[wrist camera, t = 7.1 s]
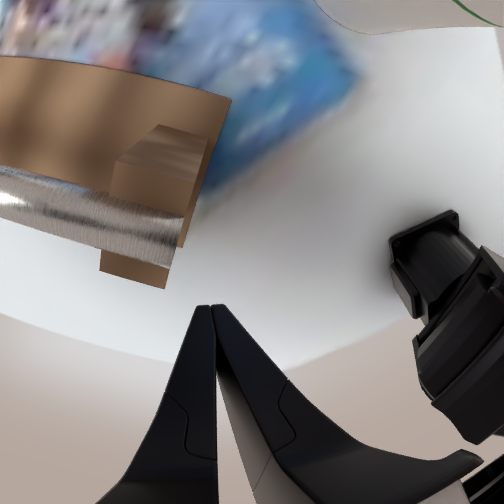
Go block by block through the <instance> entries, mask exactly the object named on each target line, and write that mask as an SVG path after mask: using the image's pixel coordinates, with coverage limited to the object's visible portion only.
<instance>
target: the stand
mask: <svg viewBox="0 0 504 504" xmlns="http://www.w3.org/2000/svg"><path fill="white" fill-rule="evenodd" d="M231 101H232V99H230V98H227V97H224V96H220V95H217V94H214V93H211V92H207V91H204V90H200V89H197V88H193V87H190V86H186V85H182V84H179V83H175V82H171V81H167V80H163V79H159V78H155V77H150V76H146V75H142V74H137V73H132V72H128V71H123V70H118V69H112V68H107V67H101V66H95V65H89V64H83V63H76V62H68V61H60V60H52V59H42V58H31V57H16V56H0V163H1V164H5V165H9V166H12V167H16V168H20V169H24V170H28V171H32V172H35V173H39V174H43V175H47V176H51V177H54V178H58V179H62V180H65V181H69V182H73V183H77V184H80V185H84V186H88V187H91V188H95V189H99V190H102V191H106V192H109V193H110V194H109V196H112V197H116V198H120V199H123V200H127V201H130V202H134V203H137V204H141V205H144V206H148V207H152V208H155V209H159V210H162V211H166V212H169V213H173V214H176V215H180V216H183V217H184V220H183V224H182V227H181V231H180V235H179V238H178V242H177V245H176V246H177V247H181V248H182V247H183V244H184V241H185V237H186V234H187V231H188V227H189V224H190V221H191V218H192V214H193V211H194V208H195V205H196V202H197V199H198V195H199V192H200V189H201V186H202V183H203V180H204V177H205V174H206V171H207V168H208V165H209V162H210V159H211V156H212V154H213V151H214V148H215V145H216V142H217V139H218V137H219V134H220V131H221V128H222V125H223V123H224V120H225V117H226V115H227V112H228V109H229V106H230V104H231ZM169 270H170V269H168V268H164V267H161V266H157V265H154V264H150V263H147V262H143V261H140V260H136V259H133V258H129V257H126V256H122V255H119V254H115V253H112V252H109V251H105V250H101V259H100V270H99V271H102V272H105V273H109V274H112V275H115V276H119V277H122V278H126V279H129V280H133V281H136V282H140V283H143V284H147V285H150V286H154V287H158V288H161V289H165V285H166V281H167V278H168V274H169Z"/></svg>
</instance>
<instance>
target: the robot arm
mask: <svg viewBox="0 0 504 504" xmlns="http://www.w3.org/2000/svg"><path fill="white" fill-rule="evenodd" d="M453 215H454V216H453ZM452 216H453V218H452ZM397 241H398V242H397ZM395 242H397V243H396V244H394V243H395ZM389 246H390V251H391V255H392V260H393V263H391V266H390V268H391V273H392V279H393V284H394V288H395V289H396V291H397V293H398V294H399V296H400V298H401V299H402V301H403V303H404V304H405V306H406V308H407V309H408V311H409V313H410V315H411V316H412V318H414V319H418V318H421V320H422V321H423V323H424V325H425V327H424V328H423V330H422V331H421V332H420V333H419V335H416V337H414V339H413V340H412V343H413V348H414V354H415V359H416V365H417V371H418V378H419V382H420V385H421V388H422V390H423V391H424V392H425V394H426V395H427V396H428V398H429V399H430V400H432V402H431V405H432V406H434V407H435V408H436V409H438V410H439V411H441V412H442V413H443V414H444V415H446V417H447V418H449V419H450V420H451V422H452V423H453V424H454V426H455V427H456V428H457V430H458V431H459V433H460V434H461V435H462V437H463V438H464V439H465V440H466V441H468V442H471V443H473V444H475V445H479V444H480V443H482V442H483V441H484V440H486V439H487V438H488V437H489V436H491V435H496V436H502V437H504V258H503V257H501V256H499V255H498V254H496V253H494V252H493V251H491V250H489V249H488V248H486V247H484V246H483V245H481V247H480V249H478V248H477V247H476V246H475V245H474V244H473V243H472V242H471V241H470V240H469V239H468V238H467V237H466V236H465V235H464V234H463V233H462V232H461V231H460V230H459V216H458V213H456V212H455V211H454V210H451V211H449V212H447V213H444V214H442V215H440V216H438V217H436V218H434V219H431V220H429V221H427V222H425V223H423V224H420V225H418V226H416V227H414V228H411V229H409V230H407V231H405V232H403V233H400V234H398V235H396V236H394V237H392V238H391V239H390V241H389ZM216 374H217V378H218V382H219V385H220V389H221V392H222V396H223V400H224V403H225V406H226V410H227V413H228V417H229V420H230V423H231V427H232V430H233V433H234V436H235V440H236V443H237V446H238V449H239V453H240V456H241V459H242V462H243V465H244V468H245V471H246V474H247V477H248V480H249V483H250V486H251V488H252V491H253V495H254V498H255V500H256V503H257V504H504V454H503V455H501V456H500V457H498V458H497V459H495V460H494V461H493V462H491V463H490V464H488V465H487V466H486V467H484V468H483V469H481V470H480V471H478V472H477V473H476V474H474V475H473V476H471V477H470V478H468V479H467V480H465V481H464V482H461V480H460V479H461V478H462V477H464V476H465V475H467V474H468V473H470V472H471V471H473V470H474V469H475V468H477V467H478V466H480V465H481V464H482V463H483V462H484V461H483V460H482V459H481V458H480V457H479V456H478V455H476V454H474V453H472V452H469V451H466V450H463V449H460V450H458V451H456V452H454V453H452V454H451V455H449V456H447V457H445V458H443V459H440V460H429V461H428V460H422V459H417V458H412V457H408V456H404V455H399V454H396V453H392V452H388V451H384V450H380V449H377V448H373V447H370V446H368V445H365V444H363V443H361V442H359V441H358V440H356V439H354V438H353V437H351V436H350V435H349V434H348V433H347V432H345V431H344V430H343V429H342V428H340V427H339V426H338V425H337V424H336V423H334V422H333V421H332V420H331V419H329V418H328V417H327V416H326V415H325V414H323V413H322V412H321V411H320V410H319V409H318V408H317V407H315V406H314V405H313V404H312V403H311V402H310V401H309V400H307V398H306V397H305V396H304V395H303V394H302V393H301V392H300V391H299V390H298V389H297V388H296V387H295V386H294V385H293V383H292V382H291V381H290V380H287V379H288V378H287V377H286V376H285V375H284V374H283V372H282V371H281V370H280V369H279V368H278V367H277V365H276V364H275V363H274V362H273V361H272V360H271V359H270V357H269V356H268V355H267V354H266V353H265V352H264V351H263V349H262V348H261V347H260V346H259V345H258V344H257V342H256V341H255V340H254V339H253V338H252V336H251V335H250V334H249V333H248V332H247V331H246V329H245V328H244V327H243V326H242V325H241V323H240V322H239V321H238V320H237V319H236V317H235V316H234V315H233V314H232V313H231V311H230V310H229V309H228V308H227V307H226V305H224V304H214V305H211V307H210V305H198V306H197V307H196V308H195V311H194V314H193V316H192V319H191V322H190V324H189V327H188V329H187V332H186V335H185V337H184V340H183V343H182V345H181V348H180V351H179V353H178V356H177V359H176V361H175V364H174V367H173V370H172V372H171V375H170V378H169V381H168V383H167V386H166V389H165V392H164V394H163V397H162V400H161V402H160V405H159V407H158V410H157V412H156V415H155V417H154V419H153V421H152V423H151V426H150V428H149V430H148V432H147V434H146V435H145V438H144V439H143V441H142V443H141V445H140V447H139V449H138V451H137V452H136V454H135V456H134V458H133V460H132V462H131V464H130V465H129V467H128V469H127V471H126V472H125V474H124V475H123V476H122V478H121V479H120V480H119V481H118V483H117V484H116V485H115V486H114V487H113V488H111V489H110V491H108V492H107V493H106V494H105V495H104V496H103V497H102V498H101V499H100V500H99V501H98V502H96V503H95V504H219V492H218V467H217V466H218V464H217V411H216Z"/></svg>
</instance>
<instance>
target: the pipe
mask: <svg viewBox="0 0 504 504" xmlns="http://www.w3.org/2000/svg"><path fill="white" fill-rule="evenodd" d="M109 194H110V193H109V192H106V191H102V190H99V189H95V188H91V187H88V186H84V185H80V184H77V183H73V182H69V181H65V180H62V179H58V178H54V177H51V176H47V175H43V174H39V173H35V172H32V171H28V170H24V169H20V168H16V167H12V166H9V165H5V164H1V163H0V217H1V218H4V219H7V220H10V221H13V222H16V223H19V224H22V225H25V226H28V227H31V228H34V229H37V230H40V231H43V232H47V233H50V234H53V235H56V236H59V237H62V238H66V239H69V240H72V241H75V242H79V243H82V244H85V245H88V246H92V247H95V248H98V249H102V250H105V251H109V252H112V253H115V254H119V255H122V256H126V257H129V258H133V259H136V260H140V261H143V262H147V263H150V264H154V265H157V266H161V267H164V268H168V269H170V267H171V263H172V260H173V256H174V253H175V249H176V245H177V242H178V238H179V235H180V231H181V227H182V224H183V220H184V217H183V216H180V215H176V214H173V213H169V212H166V211H162V210H159V209H155V208H152V207H148V206H144V205H141V204H137V203H134V202H130V201H127V200H123V199H120V198H116V197H112V196H109Z"/></svg>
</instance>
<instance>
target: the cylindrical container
mask: <svg viewBox="0 0 504 504" xmlns="http://www.w3.org/2000/svg"><path fill="white" fill-rule="evenodd" d="M315 1H316V3H317V4H318V5H319V6H320V8H321V9H322V10H323V11H324V12H325V13H326V14H327V15H328V16H329V17H330V18H332V19H333V20H334V21H336V22H337V23H339V24H340V25H342V26H344V27H346V28H349V29H351V30H354V31H357V32H360V33H366V34H384V33H391V32H399V31H407V30H417V29H429V28H445V27H504V0H315Z"/></svg>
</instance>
